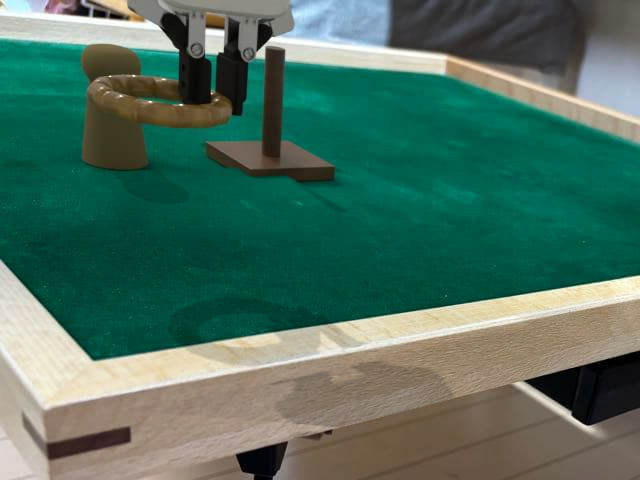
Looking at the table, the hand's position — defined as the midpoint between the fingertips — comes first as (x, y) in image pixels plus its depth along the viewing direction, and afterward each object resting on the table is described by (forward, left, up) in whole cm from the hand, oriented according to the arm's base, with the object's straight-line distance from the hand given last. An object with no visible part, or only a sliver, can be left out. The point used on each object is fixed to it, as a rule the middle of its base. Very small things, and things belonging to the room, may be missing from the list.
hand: (212, 108), depth 67 cm
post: (+17, +22, -12) cm, 30 cm away
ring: (-4, 0, 0) cm, 4 cm away
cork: (+2, +25, -12) cm, 28 cm away
